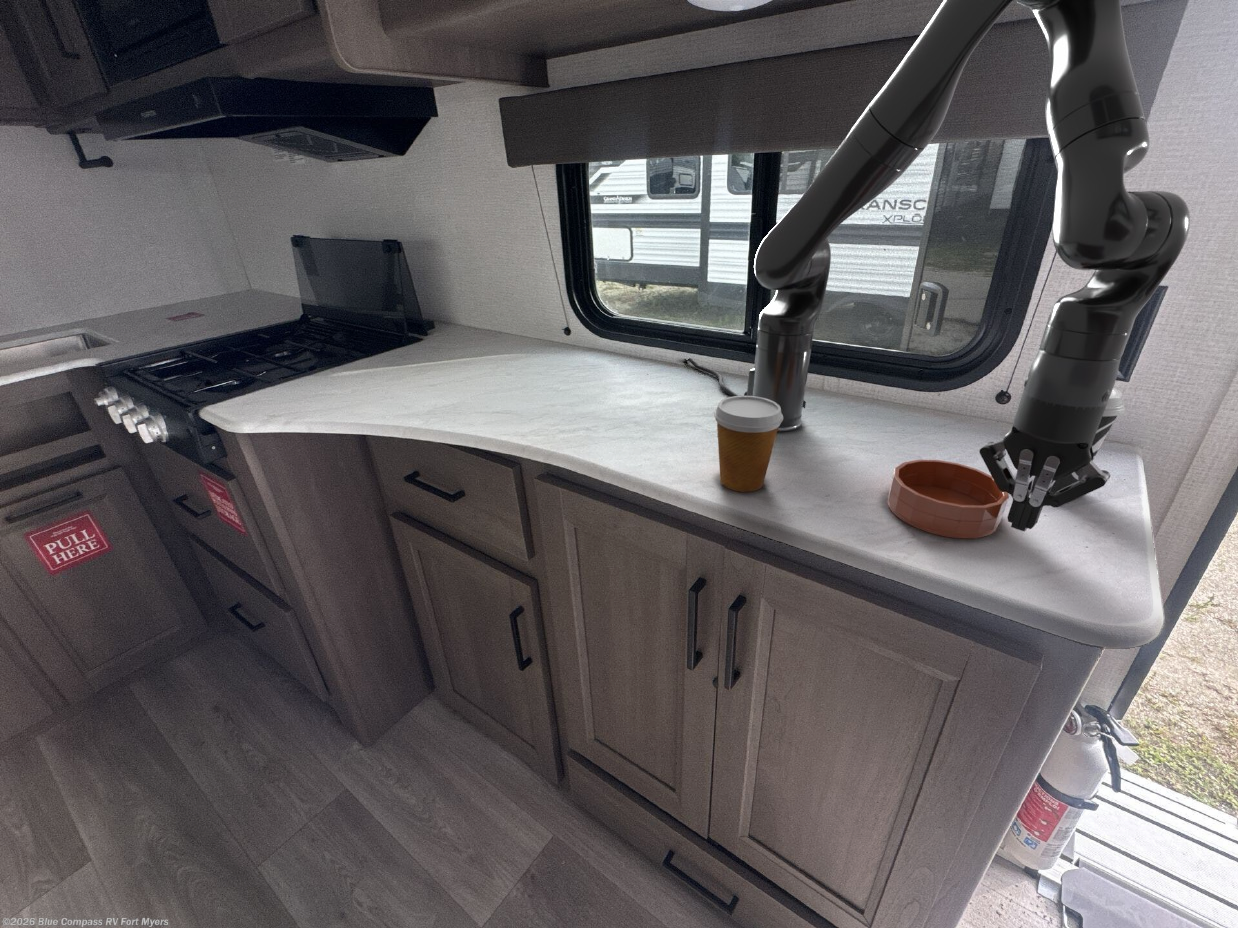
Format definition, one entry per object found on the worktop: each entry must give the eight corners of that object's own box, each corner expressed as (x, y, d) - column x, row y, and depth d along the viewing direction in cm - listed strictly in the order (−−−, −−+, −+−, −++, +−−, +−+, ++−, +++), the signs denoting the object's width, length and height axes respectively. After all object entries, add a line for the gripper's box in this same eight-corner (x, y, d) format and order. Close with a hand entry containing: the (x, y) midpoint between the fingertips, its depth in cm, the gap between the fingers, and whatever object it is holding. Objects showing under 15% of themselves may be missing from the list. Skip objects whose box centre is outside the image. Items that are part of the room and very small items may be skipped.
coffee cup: (1055, 471, 86) (1091, 376, 79) (1105, 503, 78) (1151, 400, 71) (993, 472, 86) (1024, 377, 79) (1037, 504, 77) (1076, 401, 71)
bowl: (870, 509, 77) (876, 480, 75) (912, 478, 84) (919, 451, 82) (975, 551, 68) (986, 519, 66) (1012, 512, 76) (1022, 482, 74)
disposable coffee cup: (783, 495, 80) (794, 417, 75) (717, 499, 80) (723, 420, 74) (763, 465, 89) (771, 393, 83) (703, 468, 88) (707, 395, 83)
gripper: (1150, 399, 60) (1093, 537, 67) (1008, 373, 69) (972, 498, 76) (1135, 417, 55) (1076, 562, 63) (986, 387, 64) (950, 517, 72)
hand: (1019, 527), depth 69 cm, fingers closed
